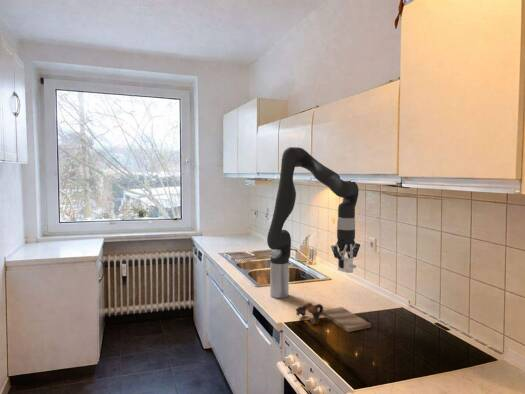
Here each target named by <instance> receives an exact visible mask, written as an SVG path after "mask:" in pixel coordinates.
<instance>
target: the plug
mask: <svg viewBox="0 0 525 394" xmlns="http://www.w3.org/2000/svg"><path fill="white" fill-rule="evenodd" d="M343 260H344V268H343V269H342V268H340V267H339V259H337V270H338V271H340V272H343V273H347V274H348V273H349V274H351V273H354V269H357V265H356V264H354V258H353V259H352V258H348V257H347V256H344V259H343Z"/></svg>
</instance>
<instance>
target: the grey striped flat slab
mask: <svg viewBox="0 0 525 394" xmlns="http://www.w3.org/2000/svg"><path fill="white" fill-rule="evenodd" d="M321 315H322V316H323V317H325V318H326V319H328V320H329V321H331V322H332V323H334V324H335V325H337V326H338V327H340V328H342V329H343V330H344V331H346V332H347V333H351V332H354V331H355V332H356V331H359V330H365V329H369V328H371V327H372V324H371V323H370V322H368V321H367V320H365V319H363V318H362V317H360V316H358V315H356V314H355V313H353V312H351V311H350V310H348V309H346V308H344V307H342V306H341V307H340V306H339V307H335V308H328V309H323V312H322V314H321Z"/></svg>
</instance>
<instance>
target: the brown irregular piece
mask: <svg viewBox="0 0 525 394" xmlns="http://www.w3.org/2000/svg"><path fill="white" fill-rule="evenodd" d="M318 309H319V311H318ZM323 310H324V306H323V304H320V303H319V304H316V305H313V304H312V302H308V303H306V304H304V305H302V306H299V307H297V308H296V309H295V311H296V316H298V317H299V316H300V315H302V317H305V316H306V314H307V313H306V311H308V313H310V314H311V315H312V316H313V317H312V318H310V319H309V321H310V323H311V325H314V324H316V323H318V322H320V316H321V315H322V312H323Z"/></svg>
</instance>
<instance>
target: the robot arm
mask: <svg viewBox="0 0 525 394" xmlns="http://www.w3.org/2000/svg"><path fill="white" fill-rule="evenodd" d="M281 157H282V158H281V166H280V168H281V169H280V176H279V182H278V189H277V193H276V198H275V205H274V210H273V214H272V220H271V223H270V226H269V229H268V232H267V237H266V240H267V241H266V242H267V246H268V248H269V250H275V252H274V253H273V254H272V255H271V256H270V259H269V260H270V262H269V263H270V264H269V265H270V266H269V267H270V275H269V276H270V279H269V281H270V282H269V283H270V285H269V286H270V292H269V293H270V297H272V298H275V299H286V298H287V297H289V293H290V292H289V289H290V288H289V287H290V275H289V273H290V269H289V267H290V262H289V261H290V258H291V248H292V237H291V234H290V232H289V231H288V230H286V229H283V228H284V224H285V223H286V221H287V220H288V218H289V216H290V215H291V214H292V213H293V210H294V208H295V203H296V200H297V199H296V198H297V190H296V187H295V183H294V173H295V168H303V169H305V170H308V171H309V173H311V174H312V176H314V178H315V179H316V180H317V181H318V182H319V183H321V184H323V185H324V186H326V187H327V188H329V190H330V191H331V192H333V193H334V194H335V195H336V196H338V197H339V198H342V202H341V203H340V204H338V206H337V223H336V225H337V226H336V239H337V241H336V243H335V244H334V245H333V244H332V245H330V247H331V251H332V253H333V256H334V259H337V260H338V259H339V267H340V268H342V269H343V268H344V260H343V259H344V257H345V255H347V256H346V257H347V258H352V259H353V260H354V258H356V257H357V256H358V253H359V250H360V248H361V243H357V242H356V240H355V239H356V206H357V202H358V198H359V194H360V193H359V185H358V183H356V181H354V182H351V181H352V180H343V179H341V176H340V175H339V174H338V173H337V172H336V171H334V170H332V169H330V168H329V167H327V166H325V165H323V164H322V163H321V162H320V161H318V160H317V159H316V158H315V157H313V156H312V155H311V154H310V153H309V152H308V151H306V149H304V148H302V147H296V146H294V147H292V146H290V147H286V148H285V149H284V151H283V152H282V156H281Z"/></svg>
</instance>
